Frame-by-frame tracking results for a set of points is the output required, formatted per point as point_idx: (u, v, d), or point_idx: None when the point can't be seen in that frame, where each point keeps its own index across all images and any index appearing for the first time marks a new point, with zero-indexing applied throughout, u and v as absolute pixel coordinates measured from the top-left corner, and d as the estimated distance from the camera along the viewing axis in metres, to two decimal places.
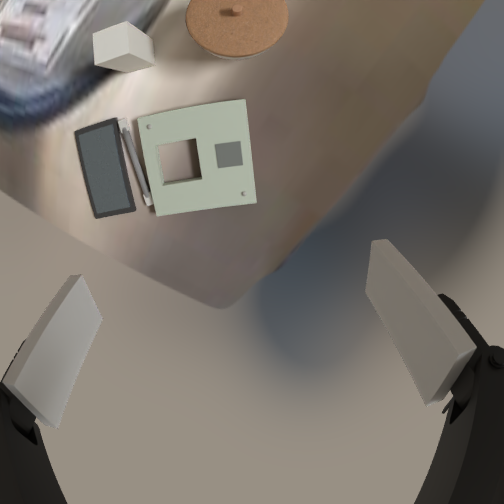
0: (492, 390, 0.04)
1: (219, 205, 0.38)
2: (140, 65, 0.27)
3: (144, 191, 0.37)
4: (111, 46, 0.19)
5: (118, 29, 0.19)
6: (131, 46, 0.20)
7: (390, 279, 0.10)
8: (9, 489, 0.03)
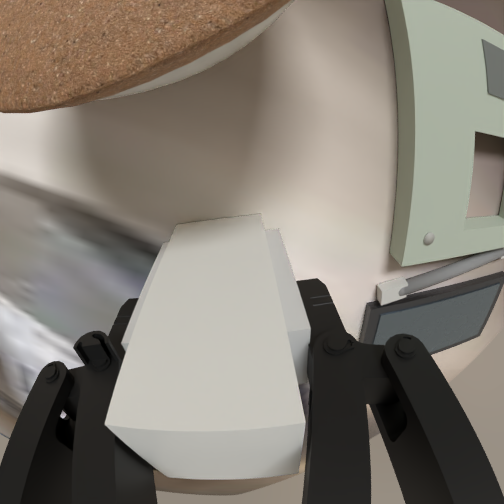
0: (332, 380, 0.06)
1: None
2: None
3: (499, 256, 0.14)
4: (236, 460, 0.05)
5: (151, 446, 0.05)
6: (247, 393, 0.05)
7: None
8: (99, 483, 0.04)
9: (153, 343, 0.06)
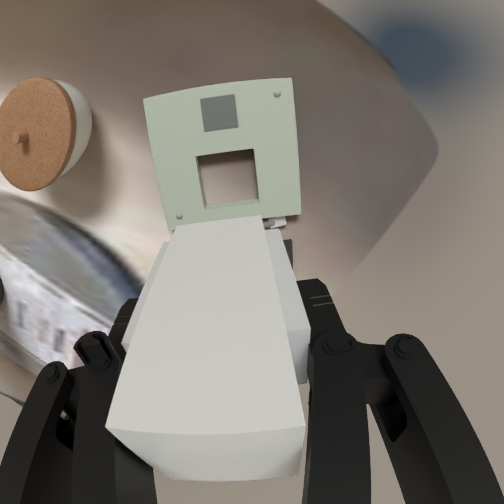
0: (332, 380, 0.06)
1: (293, 127, 0.25)
2: None
3: (266, 226, 0.30)
4: (236, 462, 0.05)
5: (152, 448, 0.05)
6: (247, 396, 0.05)
7: None
8: (100, 483, 0.04)
9: (153, 346, 0.06)
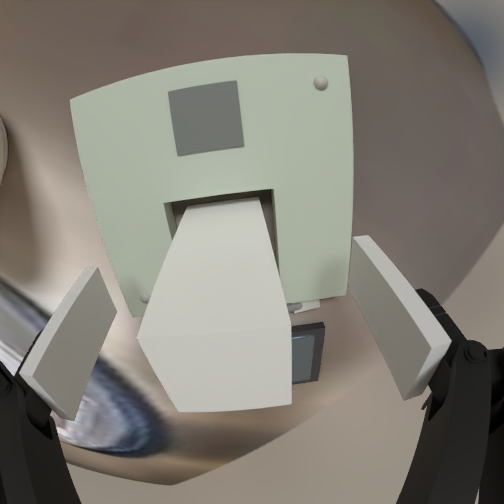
0: (469, 386, 0.05)
1: (348, 150, 0.13)
2: None
3: None
4: (239, 376, 0.08)
5: (171, 360, 0.07)
6: (248, 308, 0.07)
7: (369, 274, 0.10)
8: (21, 485, 0.03)
9: (175, 282, 0.09)
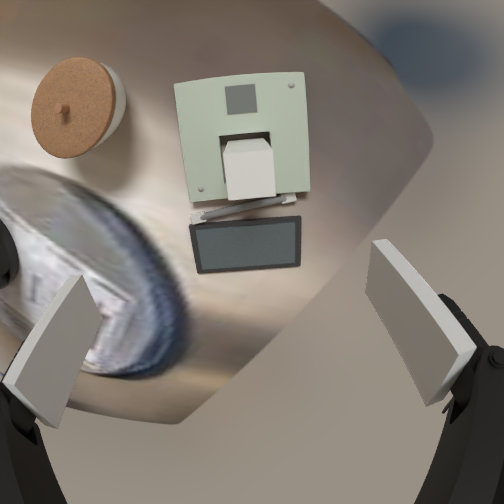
0: (492, 390, 0.04)
1: (304, 114, 0.28)
2: None
3: (278, 201, 0.33)
4: (255, 173, 0.23)
5: (233, 164, 0.22)
6: (259, 149, 0.22)
7: (390, 279, 0.10)
8: (9, 489, 0.03)
9: (232, 149, 0.24)
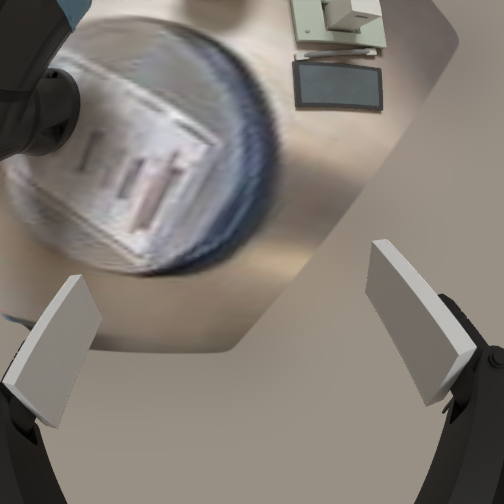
0: (492, 390, 0.04)
1: None
2: None
3: (364, 51, 0.31)
4: (368, 0, 0.20)
5: None
6: None
7: (390, 279, 0.10)
8: (10, 489, 0.03)
9: None
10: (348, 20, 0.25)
